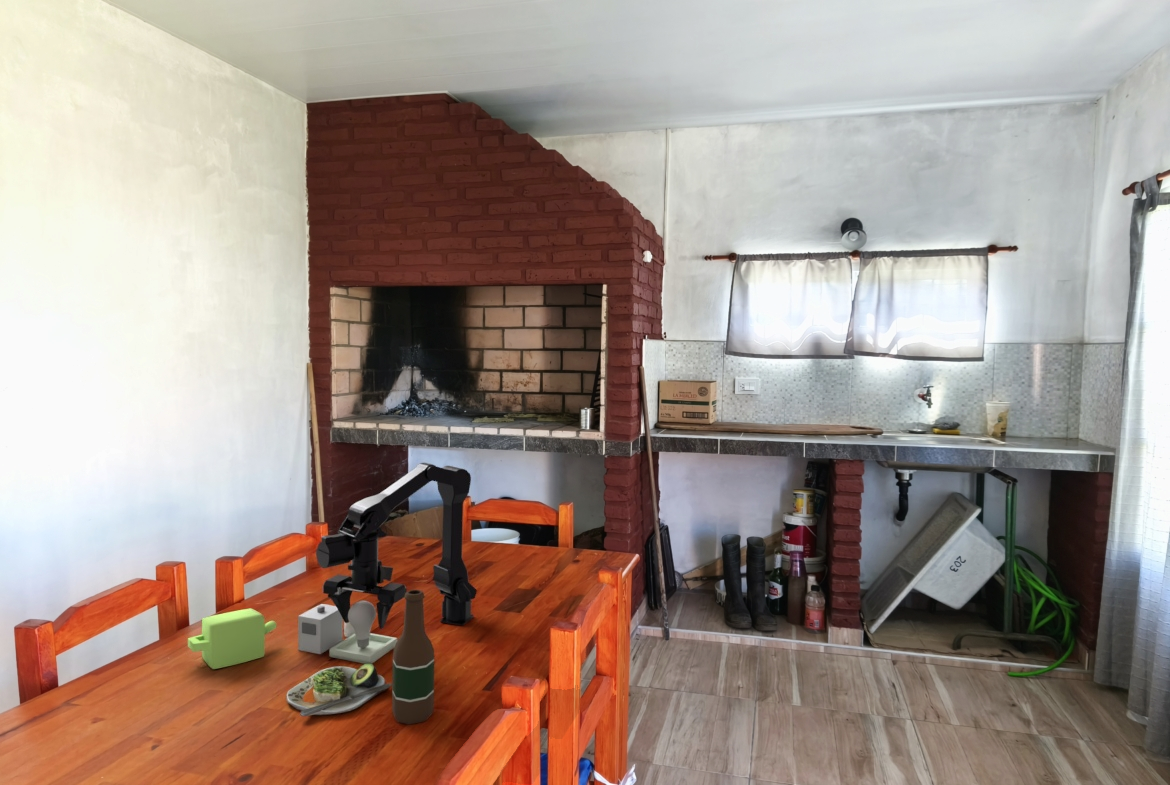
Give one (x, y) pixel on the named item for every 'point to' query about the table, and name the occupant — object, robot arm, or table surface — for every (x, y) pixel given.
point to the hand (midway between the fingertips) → (364, 625)
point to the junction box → (320, 629)
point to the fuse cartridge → (348, 629)
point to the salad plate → (337, 690)
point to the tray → (367, 655)
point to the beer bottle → (413, 666)
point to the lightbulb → (362, 621)
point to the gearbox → (232, 638)
